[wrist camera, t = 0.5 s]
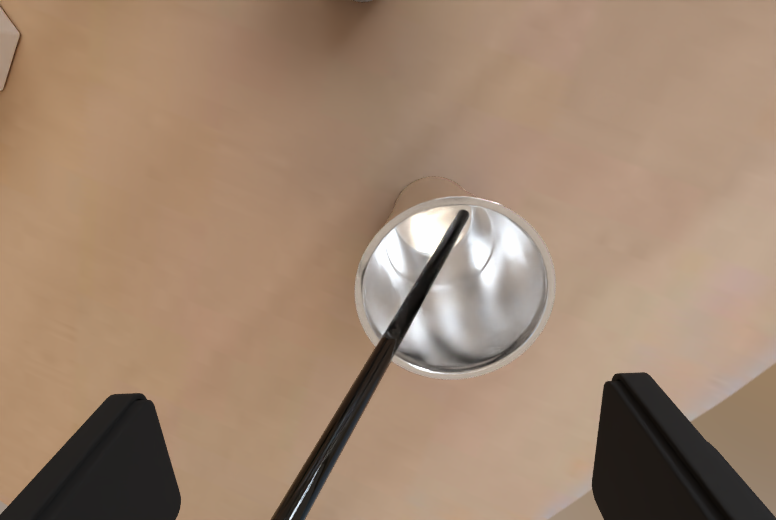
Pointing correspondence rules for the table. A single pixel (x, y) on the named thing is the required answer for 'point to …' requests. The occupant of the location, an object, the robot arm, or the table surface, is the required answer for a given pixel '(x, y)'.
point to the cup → (362, 0)
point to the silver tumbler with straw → (437, 304)
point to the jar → (6, 45)
